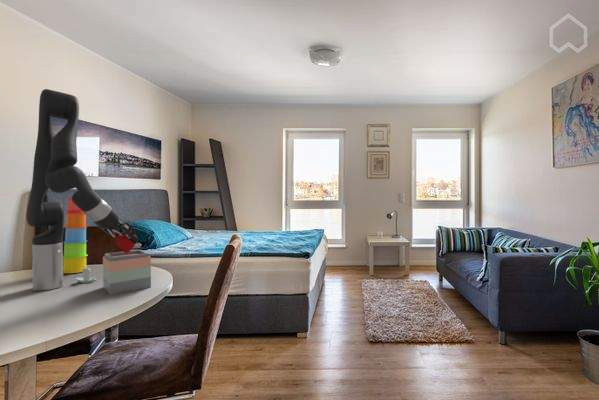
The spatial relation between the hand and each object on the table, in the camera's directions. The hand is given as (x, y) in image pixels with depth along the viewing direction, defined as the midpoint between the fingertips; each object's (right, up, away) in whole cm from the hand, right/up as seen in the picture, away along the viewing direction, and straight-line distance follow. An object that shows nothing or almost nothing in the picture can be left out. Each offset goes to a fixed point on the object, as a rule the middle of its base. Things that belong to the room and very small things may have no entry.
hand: (130, 241), depth 124 cm
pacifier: (-22, -18, +7) cm, 29 cm away
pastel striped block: (-1, -18, -1) cm, 18 cm away
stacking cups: (-39, -17, +24) cm, 49 cm away
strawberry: (-1, -5, -1) cm, 5 cm away
